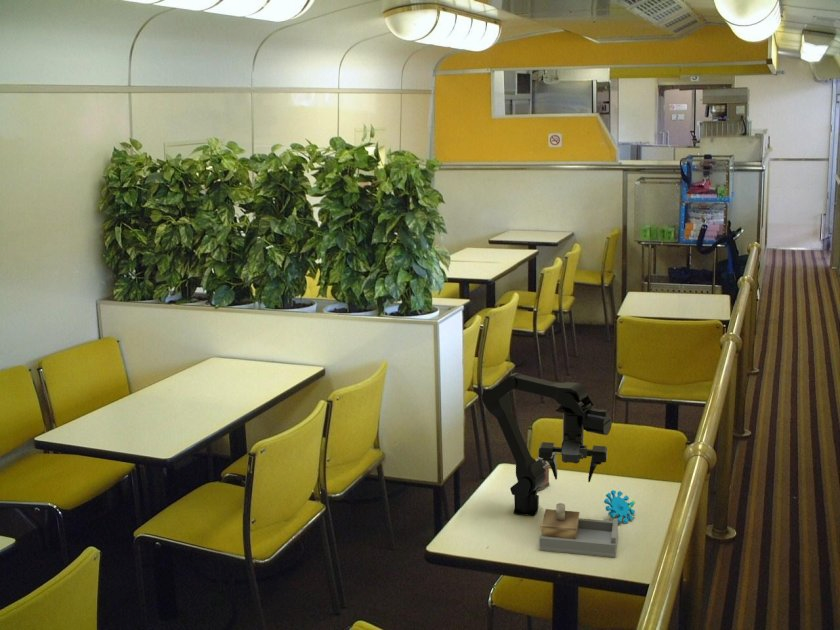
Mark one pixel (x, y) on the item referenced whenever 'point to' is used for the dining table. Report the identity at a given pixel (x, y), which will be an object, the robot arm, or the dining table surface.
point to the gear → (619, 506)
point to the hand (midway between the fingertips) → (572, 480)
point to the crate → (560, 523)
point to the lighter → (546, 467)
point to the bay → (587, 539)
